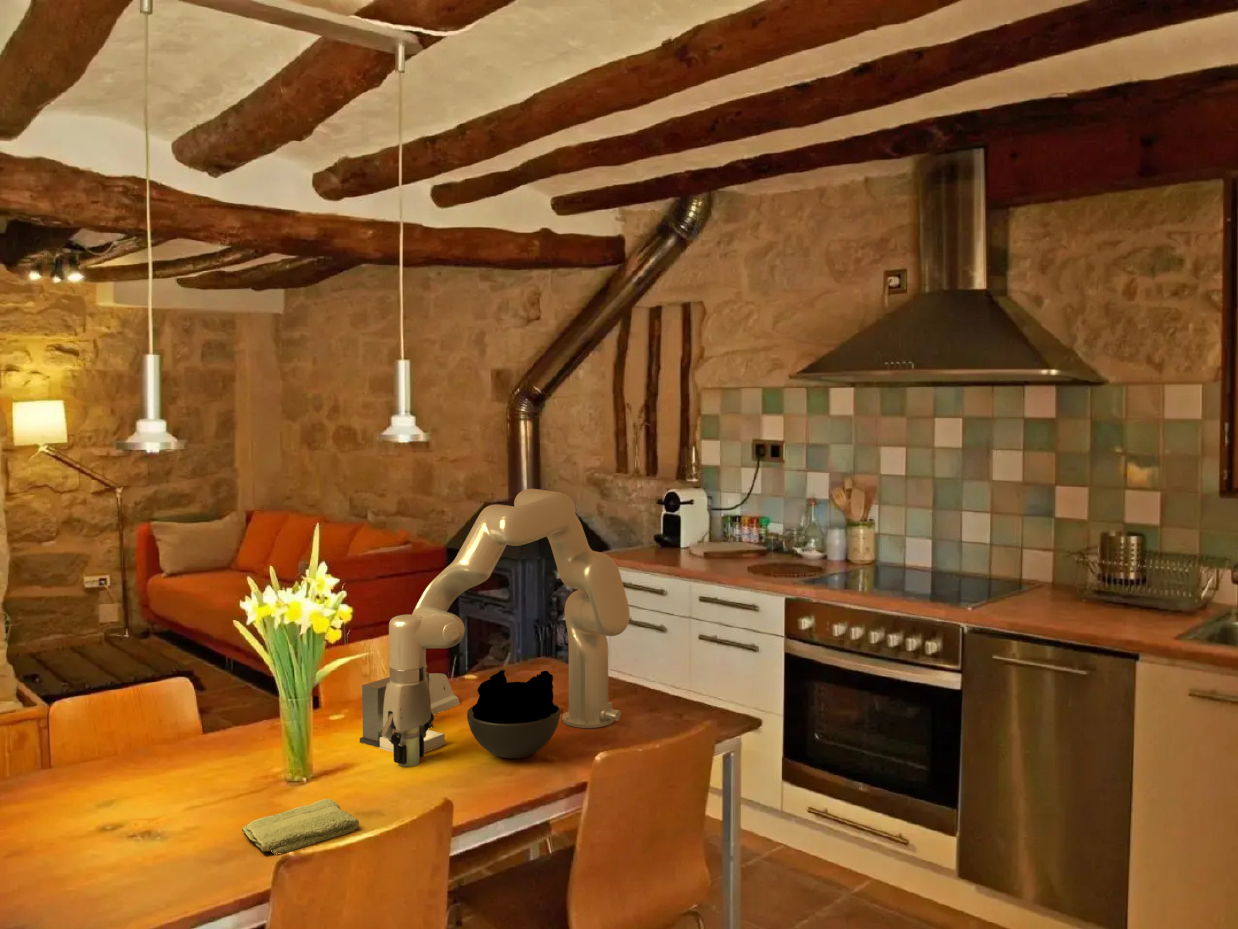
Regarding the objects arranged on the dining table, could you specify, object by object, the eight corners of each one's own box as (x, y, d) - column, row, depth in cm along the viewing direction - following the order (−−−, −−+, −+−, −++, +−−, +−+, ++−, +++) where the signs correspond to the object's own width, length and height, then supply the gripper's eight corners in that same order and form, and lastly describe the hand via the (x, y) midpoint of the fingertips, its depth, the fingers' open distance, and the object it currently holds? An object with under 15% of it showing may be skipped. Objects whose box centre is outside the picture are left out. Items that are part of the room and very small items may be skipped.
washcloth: (238, 836, 182) (237, 818, 182) (332, 811, 193) (332, 794, 193) (264, 862, 172) (264, 843, 172) (363, 833, 183) (363, 816, 183)
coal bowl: (448, 763, 217) (448, 676, 216) (499, 736, 235) (498, 655, 234) (531, 778, 209) (530, 687, 208) (576, 748, 227) (576, 664, 226)
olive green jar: (424, 762, 218) (424, 725, 218) (408, 768, 214) (408, 731, 214) (409, 758, 221) (408, 721, 220) (393, 764, 217) (392, 727, 216)
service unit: (432, 727, 242) (432, 672, 241) (378, 747, 228) (377, 689, 227) (414, 723, 245) (413, 669, 244) (359, 742, 231) (358, 685, 230)
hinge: (418, 722, 246) (407, 681, 247) (404, 726, 248) (392, 685, 249) (461, 704, 260) (449, 665, 262) (447, 707, 263) (435, 669, 264)
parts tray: (444, 744, 229) (444, 733, 229) (412, 757, 221) (412, 746, 221) (412, 736, 235) (412, 726, 235) (379, 748, 227) (379, 737, 226)
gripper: (423, 663, 225) (424, 745, 226) (364, 680, 211) (366, 768, 212) (448, 668, 221) (449, 751, 222) (390, 686, 207) (392, 775, 208)
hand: (408, 758), depth 217 cm, fingers closed on olive green jar, 4 cm apart
